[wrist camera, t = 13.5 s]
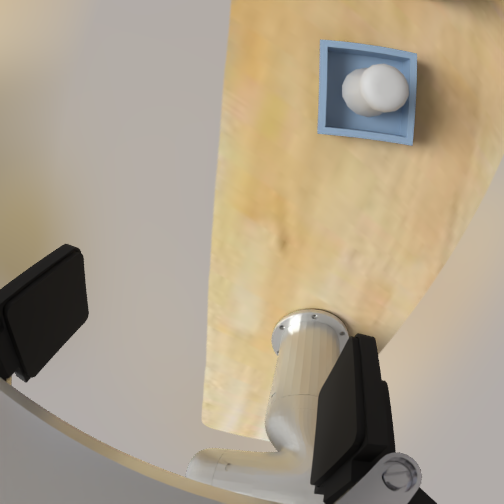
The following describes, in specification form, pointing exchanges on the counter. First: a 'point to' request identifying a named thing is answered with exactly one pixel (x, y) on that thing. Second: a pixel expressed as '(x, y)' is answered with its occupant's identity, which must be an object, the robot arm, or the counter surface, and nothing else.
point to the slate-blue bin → (335, 108)
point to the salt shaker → (375, 90)
